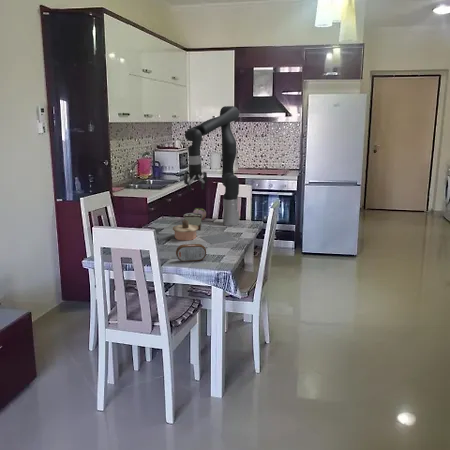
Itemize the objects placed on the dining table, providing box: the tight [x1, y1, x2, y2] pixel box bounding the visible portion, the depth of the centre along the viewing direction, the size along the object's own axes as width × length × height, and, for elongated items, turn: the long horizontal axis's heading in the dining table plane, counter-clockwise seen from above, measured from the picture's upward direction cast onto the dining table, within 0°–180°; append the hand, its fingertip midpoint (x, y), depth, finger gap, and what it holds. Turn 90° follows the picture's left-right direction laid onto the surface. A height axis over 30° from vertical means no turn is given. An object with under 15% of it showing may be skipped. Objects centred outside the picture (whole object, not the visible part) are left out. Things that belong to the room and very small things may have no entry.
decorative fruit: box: [192, 206, 207, 221], centre depth 312 cm, size 9×8×10 cm
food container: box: [183, 212, 203, 232], centre depth 291 cm, size 12×6×10 cm, turn 84°
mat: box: [199, 233, 238, 245], centre depth 269 cm, size 17×17×1 cm
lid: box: [172, 220, 198, 232], centre depth 269 cm, size 15×15×5 cm
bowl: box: [174, 231, 197, 241], centre depth 270 cm, size 12×12×6 cm
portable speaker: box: [175, 243, 207, 263], centre depth 230 cm, size 15×3×8 cm, turn 99°
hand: (196, 190), depth 279 cm, fingers open, 8 cm apart
